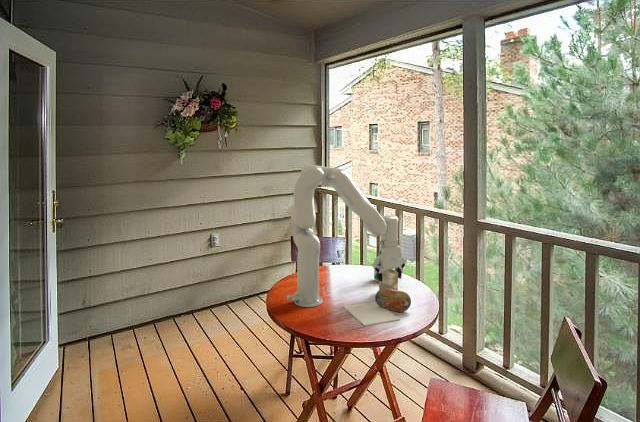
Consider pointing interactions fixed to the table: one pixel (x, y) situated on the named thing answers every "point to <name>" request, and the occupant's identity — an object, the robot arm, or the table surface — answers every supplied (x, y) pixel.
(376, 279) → the soda can
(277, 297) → the table surface
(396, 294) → the tin
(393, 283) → the beige box
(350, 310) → the mat
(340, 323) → the table surface
